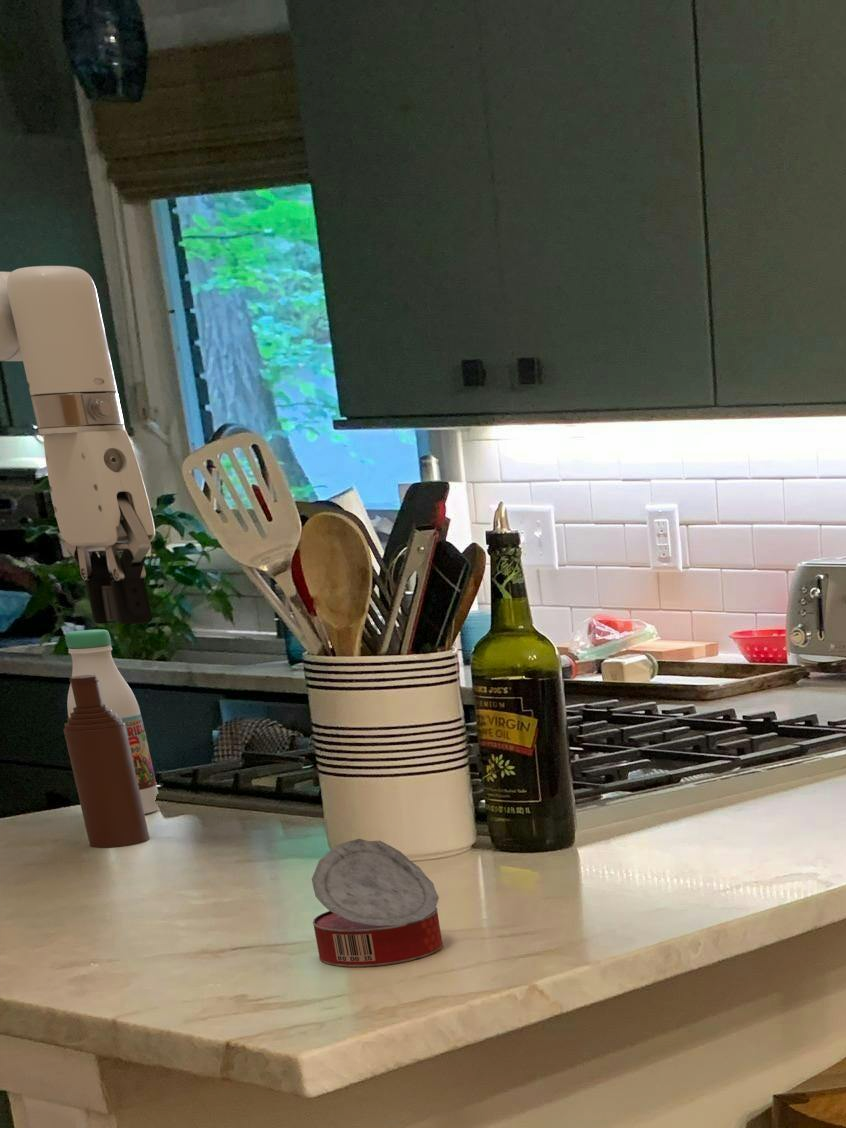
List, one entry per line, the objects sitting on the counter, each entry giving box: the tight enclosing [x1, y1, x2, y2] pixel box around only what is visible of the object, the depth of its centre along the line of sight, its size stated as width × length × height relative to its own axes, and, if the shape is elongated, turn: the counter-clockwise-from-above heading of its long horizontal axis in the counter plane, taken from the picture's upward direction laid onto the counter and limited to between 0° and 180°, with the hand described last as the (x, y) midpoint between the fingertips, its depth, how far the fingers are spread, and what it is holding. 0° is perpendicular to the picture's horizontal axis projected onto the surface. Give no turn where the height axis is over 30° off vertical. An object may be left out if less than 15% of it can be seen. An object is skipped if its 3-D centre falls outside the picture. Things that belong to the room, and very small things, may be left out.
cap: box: [101, 586, 119, 621], centre depth 187 cm, size 4×4×3 cm
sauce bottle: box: [63, 675, 150, 848], centre depth 203 cm, size 6×6×17 cm
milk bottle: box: [64, 629, 160, 815], centre depth 218 cm, size 8×8×20 cm
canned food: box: [311, 838, 444, 968], centre depth 157 cm, size 11×10×10 cm
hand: (123, 620), depth 187 cm, fingers closed on cap, 3 cm apart
